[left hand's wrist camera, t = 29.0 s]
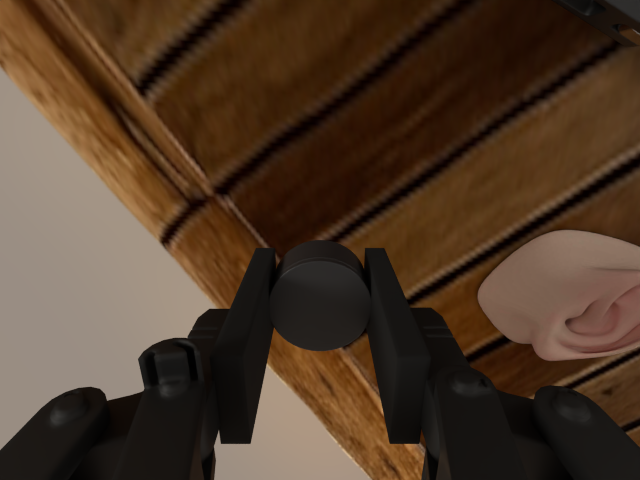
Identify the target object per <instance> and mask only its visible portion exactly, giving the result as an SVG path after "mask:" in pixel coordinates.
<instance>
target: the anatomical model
mask: <svg viewBox="0 0 640 480" xmlns="http://www.w3.org/2000/svg"><path fill="white" fill-rule="evenodd" d="M478 301H479V304H480V306H481V308H482V310H483V311H484V313H485V314H486V315H487V317H488V318H489V319H490V321H491V322H492V323H493V324H494V326H495V327H496V328H497V329H498V330H499V331H501V332H502V333H503V334H504V335H505V336H506V337H508V338H509V339H510V340H512V341H514V342H517V343H523V344H532V345H533V348H534V350H535V352H536V353H537V355H538V356H539V357H541V358H542V359H545V360H549V361H558V360H570V359H582V358H594V357H603V356H609V355H614V354H619V353H623V352H626V351H629V350H632V349H635V348H637V347H639V346H640V247H638V246H636V245H633V244H631V243H628V242H625V241H622V240H619V239H616V238H612V237H609V236H604V235H600V234H596V233H591V232H585V231H577V230H559V231H553V232H549V233H547V234H544V235H541V236H539V237H537V238H535V239H533V240H531V241H530V242H528V243H526V244H525V245H523V246H522V247H520V248H519V249H518V250H516V251H515V252H513V253H512V254H511V255H510V256H509V257H508V258H506V259H505V260H504V261H503V262H502V263H501V264H500V265H499V266H497V267H496V268H495V269H494V270H493V271H492V272H491V273H490V275H489V276H488V277H487V278H486V279H485V280H484V282H483V283H482V285H481V286H480V288H479V291H478Z"/></svg>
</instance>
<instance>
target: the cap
mask: <svg viewBox="0 0 640 480" xmlns="http://www.w3.org/2000/svg"><path fill="white" fill-rule="evenodd" d="M269 306H270V319H271V322H272V324H273V326H274V328H275V329H276V330H277V332H278V333H279V334H280V335H281V336H282V337H283V338H284V339H285V340H287V341H288V342H290V343H291V344H293V345H295V346H297V347H300V348H303V349H307V350H312V351H328V350H334V349H337V348H340V347H343V346H345V345H347V344H349V343H351V342H352V341H354V340H355V339H356V338H357V337H358V336H359V335H360V334H361V333H362V332H363V331H364V329H365V328H366V326H367V324H368V322H369V320H370V310H371V295H370V291H369V287H368V283H367V279H366V275H365V271H364V268H363V266H362V264H361V262H360V260H359V259H358V258H357V256H356V255H355V254H354V253H353V252H352V251H350V250H349V249H348V248H346V247H344V246H342V245H341V244H338V243H335V242H331V241H325V240H315V241H309V242H305V243H302V244H300V245H298V246H296V247H294V248H292V249H291V250H290V251H288V252H287V253H286V254H285V255H284V257H283V258H282V259H281V261H280V262H279V264H278V266H277V269H276V272H275V276H274V280H273V284H272V287H271V291H270V295H269Z"/></svg>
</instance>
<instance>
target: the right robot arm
mask: <svg viewBox="0 0 640 480" xmlns="http://www.w3.org/2000/svg"><path fill="white" fill-rule="evenodd" d="M552 1H554V2H555V3H557V4H559V5H560V6H562V7H563V8H565V9H567V10H568V11H570V12H571V13H573V14H574V15H576V16H578V17H579V18H581V19H582V20H584V21H586V22H587V23H589V24H590V25H592V26H594V27H595V28H597V29H598V30H600V31H601V32H603V33H605V34H606V35H608V36H609V37H611V38H613V39H614V40H616V41H617V42H619V43H621V44H622V45H624V46H626V47H634V46H640V0H552Z"/></svg>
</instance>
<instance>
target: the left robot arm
mask: <svg viewBox="0 0 640 480" xmlns="http://www.w3.org/2000/svg"><path fill="white" fill-rule="evenodd" d="M364 271H365V275H366V279H367V283H368V287H369V291H370V295H371V310H370V320H369V322H368V324H367V326H366V328H367V333H368V338H369V343H370V348H371V353H372V358H373V363H374V368H375V373H376V378H377V383H378V388H379V393H380V398H381V403H382V408H383V413H384V418H385V423H386V427H387V432H388V437H389V442H390V444H419V442H420V434H421V428H422V432H423V435H424V438H425V441H426V451H425V458H424V465H423V472H422V479H421V480H640V447H639V446H638V445H637V444H636V443H635V442H634V441H633V440H632V439H631V438H630V437H629V436H628V435H627V434H626V433H625V432H624V431H623V430H622V429H621V428H620V427H619V426H618V425H617V424H616V423H615V422H614V421H613V420H612V419H611V418H610V417H609V416H608V415H607V414H606V413H605V412H604V411H603V410H602V409H601V408H600V407H599V406H598V405H597V404H596V403H594V402H593V401H592V400H591V399H589V398H588V397H586V396H584V395H582V394H581V393H579V392H577V391H575V390H571V389H568V388H565V387H562V386H551V385H550V386H545V387H541V388H540V389H539V390H538V391H537V392H536V393H535V397H534V399H529V398H525V397H521V396H517V395H512V394H508V393H505V392H502V391H499V390H497V389H496V388H495V386H494V385H493V383H492V382H491V380H490V379H489V378H488V377H486V376H485V375H484V374H483V373H481V372H479V371H477V370H475V369H473V368H471V367H470V365H469V363H468V362H467V360H466V358H465V356H464V354H463V353H462V351H461V349H460V347H459V346H458V344H457V342H456V340H455V338H453V335H452V333H451V331H450V330H449V329H448V326H447V324H446V322H445V321H444V319H443V317H442V316H441V315H440V314H438V313H437V312H436V311H434V310H433V309H432V308H410V307H409V305H408V303H407V300H406V298H405V296H404V293H403V291H402V289H401V286H400V284H399V282H398V279H397V277H396V275H395V272H394V270H393V268H392V265H391V263H390V261H389V258H388V256H387V254H386V251H385V249H384V248H365V261H364ZM275 272H276V257H275V248H256V250H255V252H254V254H253V257H252V259H251V261H250V264H249V266H248V268H247V271H246V273H245V275H244V278H243V280H242V282H241V285H240V287H239V289H238V292H237V294H236V296H235V299H234V301H233V303H232V306H231V308H230V309H209V310H207V311H206V312H205V313H204V314H202V315H201V316H200V317H199V318H198V319H197V321H196V323H195V324H194V326H193V328H192V330H191V332H190V333H189V335H188V338H172V339H167V340H163V341H161V342H158V343H156V344H154V345H152V346H151V347H149V348H148V349H146V350H145V351H144V352H143V353H142V354H141V356H140V357H139V359H138V361H139V365H140V370H141V374H142V379H143V383H144V388H145V389H144V391H142V392H140V393H137V394H133V395H130V396H126V397H121V398H117V399H113V400H109V401H107V399H106V396H105V394H104V393H103V392H102V391H101V390H100V389H98V388H94V387H84V388H77V389H74V390H71V391H68V392H65V393H63V394H61V395H59V396H57V397H56V398H54V399H52V400H51V401H50V402H48V403H47V404H46V405H45V406H43V407H42V408H41V409H40V410H39V411H38V412H37V413H36V414H35V415H34V416H33V417H32V418H31V419H30V420H29V421H28V422H27V423H26V425H24V427H22V429H21V430H20V431H19V432H18V433H17V434H16V435H15V436H14V437H13V438H12V439H11V440H10V441H9V442H8V443H7V444H6V445H5V446H4V447H3V448H2V449H1V450H0V480H214V474H215V463H216V459H215V451H214V444H215V441H216V437H217V434H218V431H219V433H220V440H221V444H250V443H251V439H252V433H253V428H254V424H255V418H256V414H257V409H258V404H259V399H260V394H261V389H262V384H263V379H264V374H265V369H266V364H267V359H268V354H269V349H270V344H271V339H272V334H273V329H274V326H273V324H272V322H271V319H270V306H269V295H270V291H271V287H272V284H273V280H274V276H275Z"/></svg>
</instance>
